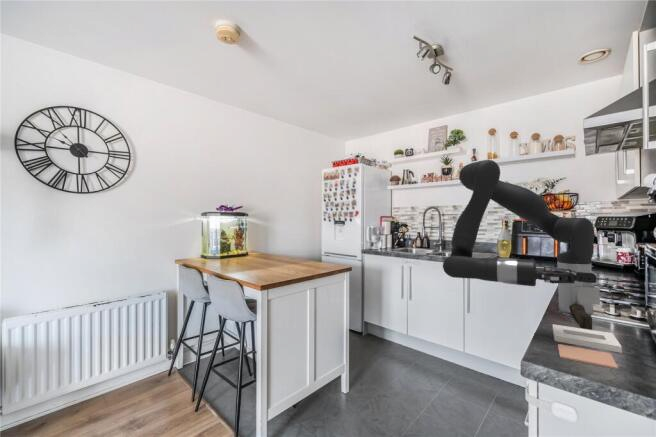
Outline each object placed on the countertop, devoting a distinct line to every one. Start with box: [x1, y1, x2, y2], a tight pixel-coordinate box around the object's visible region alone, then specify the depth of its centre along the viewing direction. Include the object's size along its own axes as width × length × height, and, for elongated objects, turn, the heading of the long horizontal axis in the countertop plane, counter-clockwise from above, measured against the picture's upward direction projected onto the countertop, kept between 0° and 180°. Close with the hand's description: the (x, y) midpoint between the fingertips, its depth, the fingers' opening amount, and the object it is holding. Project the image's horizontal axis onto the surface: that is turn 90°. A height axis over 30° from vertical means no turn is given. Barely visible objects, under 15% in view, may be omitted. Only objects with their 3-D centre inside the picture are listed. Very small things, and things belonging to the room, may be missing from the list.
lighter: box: [566, 271, 601, 306], centre depth 76 cm, size 7×2×8 cm, turn 54°
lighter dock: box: [552, 324, 623, 354], centre depth 79 cm, size 10×13×2 cm
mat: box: [557, 343, 619, 370], centre depth 69 cm, size 8×10×1 cm
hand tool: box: [569, 304, 593, 330], centre depth 91 cm, size 19×4×5 cm, turn 145°
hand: (595, 278), depth 75 cm, fingers closed on lighter, 1 cm apart
